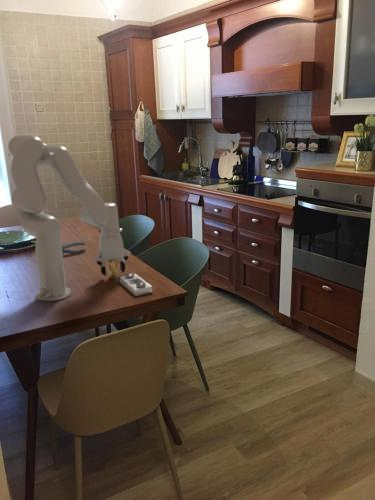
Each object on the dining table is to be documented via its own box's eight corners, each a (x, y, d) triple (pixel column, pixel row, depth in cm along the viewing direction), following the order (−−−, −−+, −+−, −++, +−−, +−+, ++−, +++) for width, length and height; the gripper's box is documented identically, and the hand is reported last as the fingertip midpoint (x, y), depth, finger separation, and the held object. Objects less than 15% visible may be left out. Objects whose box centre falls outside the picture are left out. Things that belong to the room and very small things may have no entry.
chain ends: (152, 292, 169) (151, 283, 168) (135, 296, 166) (134, 287, 165) (135, 279, 183) (135, 271, 182) (120, 282, 180) (119, 274, 179)
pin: (116, 278, 184) (114, 260, 182) (108, 278, 185) (107, 260, 183) (118, 276, 188) (117, 258, 185) (111, 275, 188) (110, 258, 186)
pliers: (45, 258, 215) (44, 247, 213) (45, 257, 217) (43, 246, 215) (86, 252, 223) (85, 241, 221) (85, 251, 224) (84, 240, 223)
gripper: (126, 228, 188) (129, 266, 193) (86, 234, 180) (91, 274, 185) (133, 231, 181) (135, 271, 187) (92, 238, 174) (96, 279, 179)
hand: (113, 272), depth 186 cm, fingers open, 7 cm apart
